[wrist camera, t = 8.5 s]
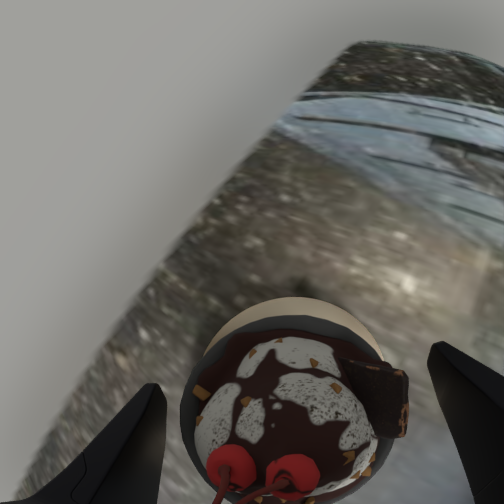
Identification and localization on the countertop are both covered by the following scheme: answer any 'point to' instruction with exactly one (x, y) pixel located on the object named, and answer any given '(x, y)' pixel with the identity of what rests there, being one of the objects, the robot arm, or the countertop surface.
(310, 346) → the sundae
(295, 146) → the countertop surface
